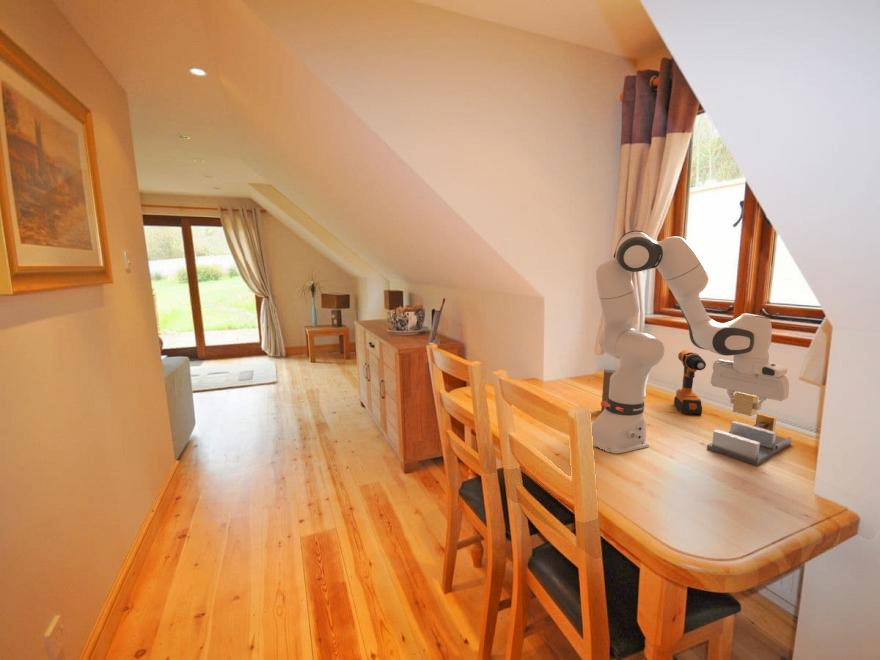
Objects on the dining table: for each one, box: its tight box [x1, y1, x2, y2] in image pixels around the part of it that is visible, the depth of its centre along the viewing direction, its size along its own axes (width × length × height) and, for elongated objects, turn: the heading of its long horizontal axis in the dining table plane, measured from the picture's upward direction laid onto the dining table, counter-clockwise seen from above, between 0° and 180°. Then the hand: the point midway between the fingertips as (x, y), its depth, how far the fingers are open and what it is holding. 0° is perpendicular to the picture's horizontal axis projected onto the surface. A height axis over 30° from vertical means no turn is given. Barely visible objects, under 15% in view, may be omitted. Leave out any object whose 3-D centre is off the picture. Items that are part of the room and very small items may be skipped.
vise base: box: [706, 429, 792, 467], centre depth 137 cm, size 28×14×6 cm, turn 123°
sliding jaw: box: [729, 412, 777, 449], centre depth 140 cm, size 13×12×7 cm
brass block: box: [732, 392, 759, 417], centre depth 131 cm, size 4×5×6 cm
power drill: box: [673, 349, 707, 415], centre depth 168 cm, size 22×7×25 cm, turn 165°
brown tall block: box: [600, 369, 617, 414], centre depth 167 cm, size 9×4×18 cm, turn 66°
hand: (745, 406), depth 131 cm, fingers closed on brass block, 5 cm apart
